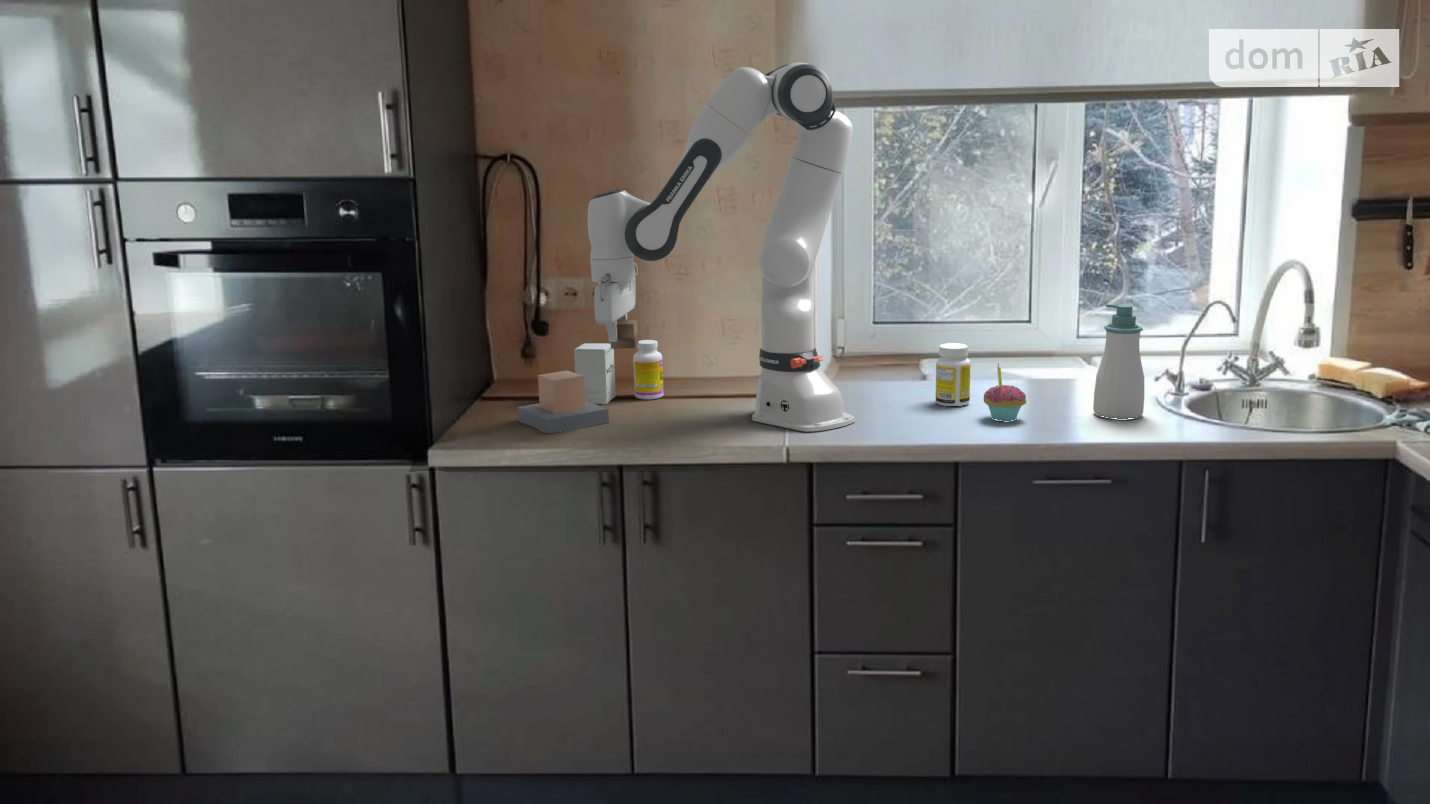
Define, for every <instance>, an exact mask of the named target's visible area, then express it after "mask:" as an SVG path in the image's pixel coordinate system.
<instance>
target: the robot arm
mask: <svg viewBox="0 0 1430 804" xmlns="http://www.w3.org/2000/svg"><path fill="white" fill-rule="evenodd" d="M771 115H777V116H779V117H783V118H785V119H786V120H789V121H793V122H794V123H795V124H796V127H797V129H796V130H797V137H796V144H795V146H794V149H793V151H792V154H791V157H790V160H789V163H788V167H787V169H786V173H785V176H784V178H783V182H782V185H781V188H780V190H779V195H778V198H777V200H776V203H775V206H774V208H773V212H772V215H771V218H770V221H769V224H768V227H767V230H766V232H765V236H764V239H763V242H762V245H761V247H760V250H759V254H758V265H759V269H760V271H761V304H760V305H761V306H760V307H761V309H760V312H761V313H760V315H761V317H760V319H761V323H760V324H761V327H760V328H761V330H760V331H761V333H760V334H761V348H760V349H759V354H758V359H759V366H760V367H761V368H760V369H761V370H760V374H759V377H758V380H757V383H756V384H757V385H756V398H755V407H754V408H755V410H754V413H753V414H752V415H751V420H752V421H753V422H758V423H762V424H767V425H770V426H771V425H772V426H777V427H780V428H784V429H785V428H786V429H791V430H794V431H800V432H806V433H807V432H820V431H821V432H822V431H827V430H832V429H837V428H840V427H845V426H848V425H850V424H853V423H854V422H855V421H856V419H855V416H854V415H853V414H850V413H848V412H846V411H844V401H843V395H842V393H841V391H840V390H839V388H838V387H837V386H836V385H835V384H834V383H833V382H832V380H830V378H829V377H828V375H826V374H825V372H824V371H823V370H822V369H821V363H820V362H823V361H824V359H821V358H823V357H824V355H822V354H821V355H819V354H818V351H817V349H816V347H815V262H816V259H817V255H818V253H819V249H820V246H821V243H822V240H823V236H824V234H825V231H826V228H827V225H828V221H829V218H830V215H831V212H832V209H833V206H834V203H835V200H836V197H837V195H838V192H839V188H840V185H841V182H842V179H843V176H844V174H845V170H846V166H847V163H848V160H849V156H850V155H849V154H850V150H851V148H852V147H851V146H852V141H853V132H854V127H853V124H852V122H851V120H850V119H849V118H848V117H847V115H845V114H843V113H842V112H841V111H838V110H837V109H836V104H835V98H834V92H833V86H832V83H831V80H830V79H829V77H828V75H827V74H826V72H825V71H823V70H822V68H819V67H818V66H816V65H813V64H809V63H807V62H800V61H799V62H793V63H788V64H784V65H782V66H779V67H777V68H775V69H773V70H772V71H769V72H767V73H765V74H764V73H763V72H761V71H760V70H757V69H756V68H753V67H750V66H749V67H748V66H740V67H738V68H736V69H734V70H733V72H731V73H730V74H729V75H728V76H727V77H726V78H725V79H724V80H723V81H722V82H721V83H720V84H719V86H718V87H717V88H716V89H715V90H714V92H713V93H712V94H711V96H710V97H709V98H708V100H707V101H706V102H705V104H704V106H703V107H702V109H701V110H700V112H699V114H698V115H697V117H696V119H695V121H694V122H693V125H692V127H691V129H690V131H689V134H688V138H687V142H686V144H685V149H684V152H683V154H682V157H681V159H680V161H679V163H678V165H677V167H676V168H675V170H674V171H673V173H672V174H671V176H670V177H669V179H668V181H666V183H665V185H664V186H663V188H662V189H661V191H660V192H659V193H658V195H657V196H656V197H655V198H654V200H652V202H648V201H645V200H642V199H640V198H638V197H636V196H633V195H632V194H631V193H628V192H627V191H626V190H625V189H620V188H619V189H612V190H609V191H604V192H602V193H597V194H596V195H594V196H593V197H592V198H590V200H589V202H588V206H587V207H588V208H587V232H588V233H587V234H588V239H589V241H590V246H591V248H590V249H591V250H590V255H589V257H590V259H589V260H590V261H589V262H590V271H591V273H590V274H591V281H592V282H594V283H598V285H596V287H595V288H594V294H593V299H594V300H593V301H594V302H593V303H594V319H595V322H596V324H597V325H604V326H605V329H606V332H607V339H608V342H616V341H618V339H619V337H618V332H617V326H616V325H617V320H628V313H629V312H631V311H632V310H633V309H635V307H636V294H637V293H636V292H637V291H636V290H637V289H636V286H637V285H636V284H637V283H636V280H637V279H636V276H637V275H638V272H639V271H638V265H637V263H635V259H634V258H635V257H637V258H638V259H640V260H643V261H647V262H656V261H660V260H662V259H664V258H666V257H667V256H668V255H670V254H671V252H672V251H673V250H674V248H675V246H676V244H677V240H678V235H679V228H680V224H681V222H682V220H683V218H684V217H685V215H686V214H687V211H688V210H689V208H690V207H691V206H692V204H693V203H694V201H695V200H696V198H697V197H698V196H699V194H700V193H701V191H702V190H703V188H704V187H705V186H706V185H707V183H708V182H709V181H710V180H711V179H712V178H713V177H714V176H715V175H716V174H717V173H719V172H720V171H721V170H722V169H724V168H725V167H726V166H727V165H728V164H729V163H730V162H732V161H733V159H734V158H735V157H737V155H739V153H740V152H741V151H742V150H743V148H744V147H745V146H746V145H747V143H749V141H750V139H751V137H753V135H754V134H755V132H756V130H757V129H758V127H759V125H761V123H762V122H763V121H765V120H766V119H767V118H768V117H770V116H771Z"/></svg>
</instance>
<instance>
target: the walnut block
mask: <svg viewBox="0 0 1430 804" xmlns="http://www.w3.org/2000/svg"><path fill="white" fill-rule="evenodd" d="M616 326H617V332H618V337H619V339H618V341H616V342H610V341H609V342H610V343H609V344H611V349H615V350H616V349H617V350H618V349H635V348H637V345H638V343H639V341H640V340H639V328H638V327H639V326H638V319H627V320H617V325H616Z"/></svg>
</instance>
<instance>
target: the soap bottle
mask: <svg viewBox="0 0 1430 804" xmlns="http://www.w3.org/2000/svg"><path fill="white" fill-rule="evenodd" d="M1105 307H1106V308H1115V309H1116V313H1114V314H1112V317H1111V319H1112V320H1111V322H1109V324H1106V325H1104V326H1103V329H1104V330H1105V344H1104V345H1105V346H1104V350H1103V353H1102V356H1101V360H1100V363H1099V365H1098V369H1097V372H1096V374H1095V375H1096V376H1095V377H1096V378H1095V385H1094V391H1093V407H1092V409H1093V413H1094V412H1095V413H1094V414H1095V415H1096V414H1097V415H1099V416H1104V417H1108V418H1117V419H1128V418H1136V417H1139V418H1140V417H1142V415H1143V414H1144V408H1145V407H1144V406H1145V373H1144V368H1143V363H1142V359H1141V353H1140V340H1141V339H1140V338H1141V332H1142V331H1143V330H1144V329H1143V326H1141V325H1139V324H1137V323H1136V322H1137V321H1136V320H1137V319H1136V318H1137V316H1136V315H1135V314H1133V305H1130V304H1114V303H1106V304H1105ZM1097 415H1096V416H1097ZM1099 416H1098V417H1099Z"/></svg>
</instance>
